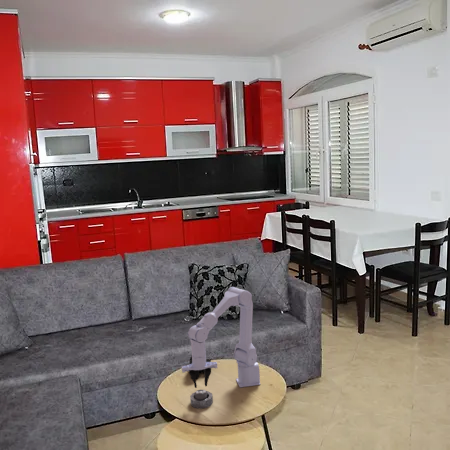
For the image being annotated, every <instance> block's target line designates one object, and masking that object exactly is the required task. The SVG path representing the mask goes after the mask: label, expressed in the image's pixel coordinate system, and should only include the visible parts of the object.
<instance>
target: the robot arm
mask: <svg viewBox="0 0 450 450" xmlns="http://www.w3.org/2000/svg"><path fill="white" fill-rule="evenodd" d="M252 297H253V295H252V293H251V292H250V291H249V290H246V289H241V288H238V287H236V286H231V287H229V288H228V289H227V291H225V292H224V297H222V299H221V300H220V302H219V303H218V304H217V306H216V307H215V308H214V309H213V310H212V311H211V312H207V313H205V314H204V315H203V317H202V318H201V319H200V320H199V321H198V322H197V323H196V325H195V324H194V325H192V326H191V327H190V328H189V329H188V331H187V337H188V338H189V341H190V345H191V346H190V347H191V348H190V350H191V355H192V364H190V363H189V364H186V365H183V366H182V365H181V372H182V373H186V372H188V374H189V376H190V379H191V378H192V379H191V380H192V381H193V384H194V388H195V389H197V386H198V385H197V379H196V373H195V370H203V369H204V373H203V374H204V386H205V387H206V388H207V387H208V382H209V380H210V379H209V378H210V375H211V374H212V369H218V362H217V361H211V362H206V359H207V351H206V350H207V349H206V340H207V339H208V336H209V334H210V332H211V330H212V329H213V328H214V327H215V326H216V325H217V324H218V321H219V317H220V316H222V315H223V314H224V313H225V312H226V311H228V309H229V308H230V307H235V306H238V307H239V309H240V312H239V314H240V315H239V338H238V339H239V340H238V342H237V343H236V344H235V348H234V351H233V358H234V360H236V364H237V378H235V380H236V382H237V384H238V387H239V388H245V387H246V388H247V387H252V386H258V385H259V386H260V385H261V379H260V378H261V377H260V376H261V375H260V373H261V372H260V366H259V362H257V359H258V355H257V349H256V347H255V346H254V344H253V343H252V340H253V339H252V338H253V315H254V314H253V312H254V310H253V309H254V303H253V300H252Z"/></svg>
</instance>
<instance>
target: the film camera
mask: <svg viewBox="0 0 450 450" xmlns="http://www.w3.org/2000/svg"><path fill="white" fill-rule="evenodd" d="M206 362H212V360H211V359H209V358H206ZM189 364H192V354H191V357H190V358H189ZM195 373H196V380H198V379H199V377H200V375H201V374H204V369H203V370H195ZM190 379H191V380H192V378H191V377H190Z"/></svg>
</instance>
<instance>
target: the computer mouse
mask: <svg viewBox="0 0 450 450" xmlns="http://www.w3.org/2000/svg"><path fill="white" fill-rule="evenodd" d="M207 391H208V390H206V389H198V390H196V391H194V392H195V399H196V400H205V399H207Z"/></svg>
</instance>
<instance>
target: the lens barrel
mask: <svg viewBox="0 0 450 450" xmlns="http://www.w3.org/2000/svg"><path fill="white" fill-rule="evenodd" d="M206 391H207V399H205V400H196V399H195V392H196V391H194V392H192V393H191V395H190V406H191V407H192V408H194V409H200V410H202V409H207V408H208V407H209V408H210V407H211V406H213V405H212V404H213V403H214V399H213V393H212V392H210V391H208V390H206Z"/></svg>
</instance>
